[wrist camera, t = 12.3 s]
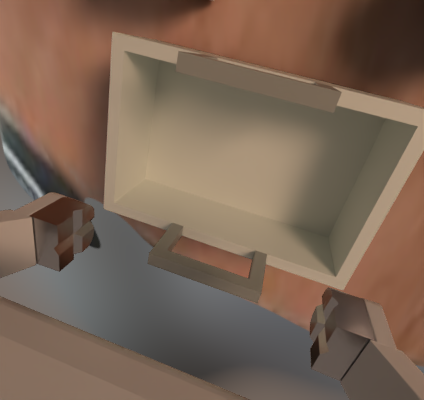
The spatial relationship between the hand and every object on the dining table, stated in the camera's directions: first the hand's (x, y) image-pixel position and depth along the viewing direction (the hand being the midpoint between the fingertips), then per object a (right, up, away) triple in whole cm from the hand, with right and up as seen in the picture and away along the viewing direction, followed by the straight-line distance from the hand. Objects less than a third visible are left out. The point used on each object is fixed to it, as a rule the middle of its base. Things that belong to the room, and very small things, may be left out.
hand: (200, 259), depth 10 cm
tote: (+3, +6, +13) cm, 15 cm away
